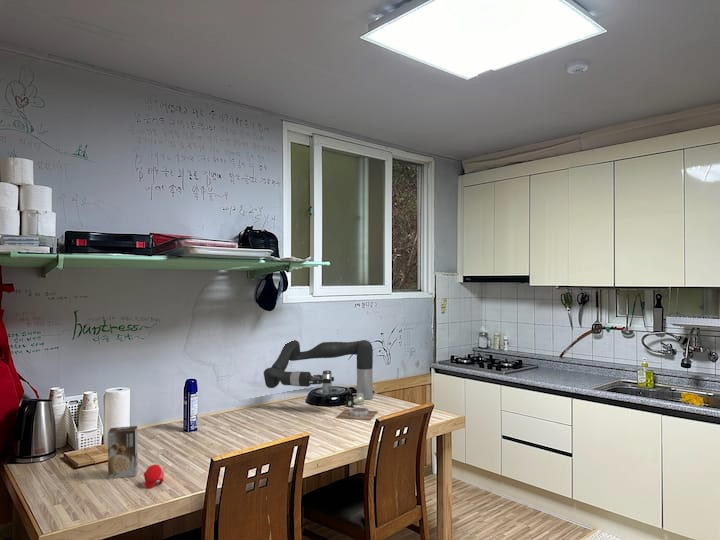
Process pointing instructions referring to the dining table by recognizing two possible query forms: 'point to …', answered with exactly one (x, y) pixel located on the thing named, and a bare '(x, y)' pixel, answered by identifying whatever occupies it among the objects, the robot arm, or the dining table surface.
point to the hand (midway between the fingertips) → (332, 380)
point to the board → (346, 415)
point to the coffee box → (122, 452)
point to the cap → (153, 476)
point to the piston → (327, 386)
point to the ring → (359, 412)
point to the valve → (355, 400)
